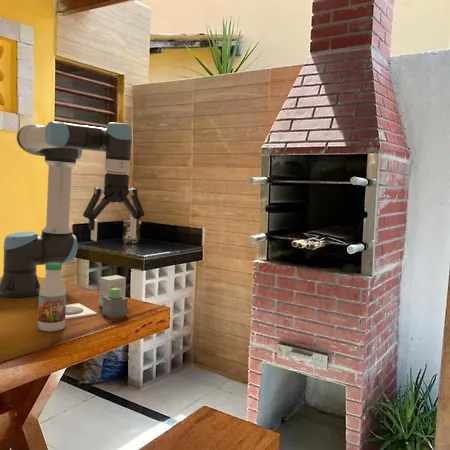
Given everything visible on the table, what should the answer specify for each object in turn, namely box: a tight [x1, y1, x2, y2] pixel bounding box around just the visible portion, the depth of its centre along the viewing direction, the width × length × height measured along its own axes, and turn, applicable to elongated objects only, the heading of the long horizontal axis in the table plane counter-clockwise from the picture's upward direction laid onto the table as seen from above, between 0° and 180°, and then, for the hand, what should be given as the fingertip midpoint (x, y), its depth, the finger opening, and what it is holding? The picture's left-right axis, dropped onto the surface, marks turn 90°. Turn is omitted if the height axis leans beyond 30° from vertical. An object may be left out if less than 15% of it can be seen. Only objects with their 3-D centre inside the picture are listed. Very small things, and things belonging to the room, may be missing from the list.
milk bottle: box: [37, 263, 67, 333], centre depth 140 cm, size 8×8×20 cm
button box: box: [101, 296, 128, 319], centre depth 158 cm, size 6×6×6 cm
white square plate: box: [65, 302, 98, 321], centre depth 157 cm, size 14×14×1 cm
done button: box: [110, 288, 121, 300], centre depth 158 cm, size 4×4×5 cm
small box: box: [98, 274, 127, 308], centre depth 169 cm, size 8×6×10 cm
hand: (113, 238), depth 149 cm, fingers open, 13 cm apart
